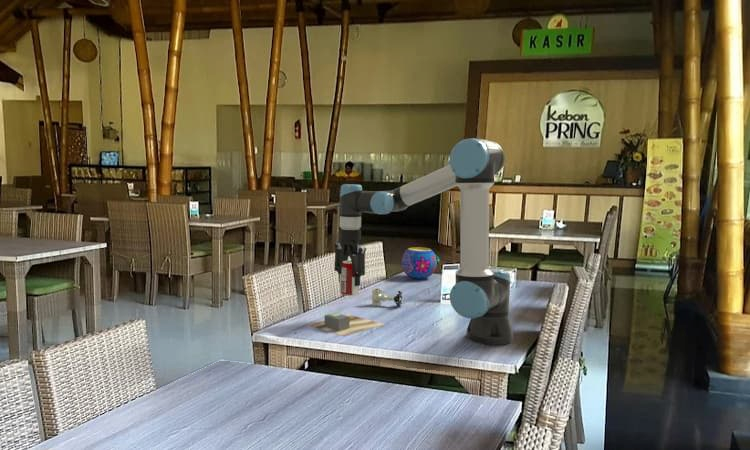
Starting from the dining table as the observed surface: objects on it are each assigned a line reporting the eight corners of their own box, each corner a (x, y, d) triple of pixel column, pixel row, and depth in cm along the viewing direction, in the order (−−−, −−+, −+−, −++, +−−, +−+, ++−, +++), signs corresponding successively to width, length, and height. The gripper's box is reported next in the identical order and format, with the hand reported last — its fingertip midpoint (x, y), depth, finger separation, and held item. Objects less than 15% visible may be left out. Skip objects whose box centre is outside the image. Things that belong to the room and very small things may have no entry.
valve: (369, 306, 228) (398, 309, 225) (369, 290, 227) (399, 292, 224) (373, 303, 234) (402, 305, 231) (373, 287, 234) (402, 289, 231)
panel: (385, 327, 199) (385, 324, 198) (343, 339, 184) (343, 336, 184) (348, 317, 211) (348, 314, 211) (307, 328, 196) (307, 324, 196)
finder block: (349, 328, 193) (349, 315, 192) (338, 331, 189) (338, 318, 189) (335, 324, 197) (335, 311, 197) (324, 326, 194) (324, 314, 193)
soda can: (359, 293, 204) (360, 260, 202) (351, 296, 199) (351, 262, 198) (346, 291, 206) (347, 259, 205) (338, 294, 202) (338, 261, 200)
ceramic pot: (443, 280, 284) (444, 250, 283) (413, 283, 275) (414, 252, 274) (423, 273, 299) (424, 245, 298) (394, 276, 290) (395, 247, 289)
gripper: (376, 230, 197) (375, 296, 199) (339, 225, 209) (338, 287, 212) (361, 231, 191) (360, 299, 194) (324, 226, 204) (323, 290, 206)
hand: (348, 293), depth 203 cm, fingers closed on soda can, 6 cm apart
